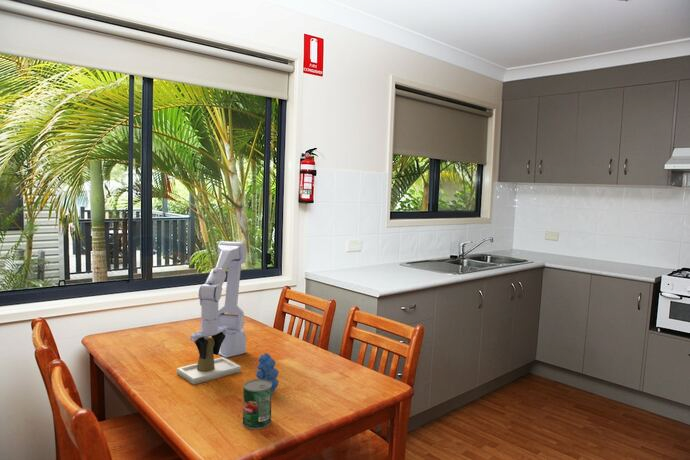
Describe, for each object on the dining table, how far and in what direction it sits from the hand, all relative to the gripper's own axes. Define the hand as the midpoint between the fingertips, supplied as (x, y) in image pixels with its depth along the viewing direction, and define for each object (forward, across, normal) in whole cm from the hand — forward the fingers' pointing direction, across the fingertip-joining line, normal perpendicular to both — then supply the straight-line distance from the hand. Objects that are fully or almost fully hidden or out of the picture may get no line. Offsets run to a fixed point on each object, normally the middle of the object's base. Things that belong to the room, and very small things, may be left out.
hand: (209, 356), depth 172 cm
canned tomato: (+6, +14, +39) cm, 42 cm away
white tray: (+6, 0, 0) cm, 6 cm away
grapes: (+6, -2, +26) cm, 26 cm away
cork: (+5, 0, -2) cm, 5 cm away
